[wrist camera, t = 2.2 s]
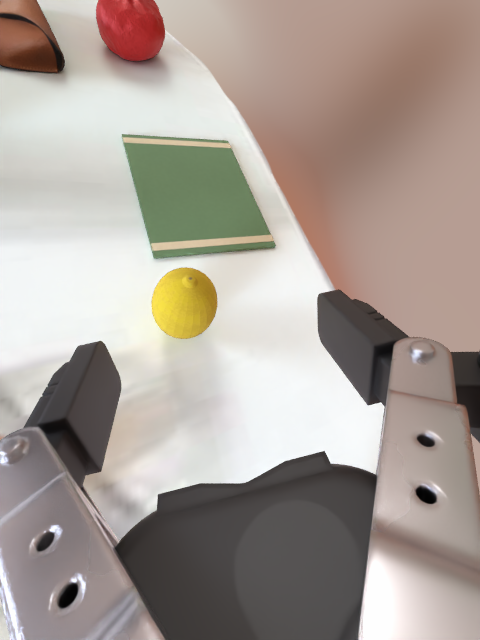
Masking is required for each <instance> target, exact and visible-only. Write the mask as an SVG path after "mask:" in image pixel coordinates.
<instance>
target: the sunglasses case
mask: <svg viewBox="0 0 480 640" xmlns="http://www.w3.org/2000/svg"><path fill="white" fill-rule="evenodd" d="M0 65H1V66H3V67H8V68H14V69H18V70H24V71H33V72H47V73H58V72H59V71H61V70H62V69H63V67H64V65H65V60H64V57H63V54H62V52H61V50H60V48H59V45H58V43H57V41H56V38H55V36H54V34H53V32H52V30H51V28H50V26H49V24H48V22H47V20H46V18H45V16H44V14H43V12H42V10H41V8H40V6H39V4H38V2H37V0H0Z"/></svg>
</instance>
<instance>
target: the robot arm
mask: <svg viewBox="0 0 480 640" xmlns="http://www.w3.org/2000/svg"><path fill="white" fill-rule="evenodd" d="M317 305H318V333H319V337H320V340H321V342H322V344H323V346H324V347H325V348H326V350H327V351H328V352H329V354H330V355H331V356H332V358H333V359H334V360H335V362H336V363H337V364H338V366H339V367H340V369H341V370H342V371H343V373H344V374H345V375H346V377H347V378H348V379H349V381H350V382H351V383H352V385H353V386H354V387H355V389H356V390H357V391H358V393H359V394H360V395H361V397H362V398H363V399H364V401H365V402H366V404H367V405H372V404H375V403H379V402H381V403H382V404H383V405H384V406H385V409H384V416H383V424H382V432H381V439H380V447H379V455H378V462H377V469H376V475H375V474H373V473H371V472H368V471H366V470H363V469H360V468H356V467H352V466H348V465H340V464H330V461H329V459H328V457H327V455H326V453H325V451H323V452H319V453H315V454H311V455H308V456H304V457H300V458H296V459H292V460H289V461H285V462H283V463H281V464H279V465H278V466H276V467H274V468H272V469H270V470H269V471H267V472H265V473H263V474H261V475H260V476H258V477H256V478H254V479H253V480H251V481H249V482H246V483H241V484H197V485H193V486H189V487H185V488H181V489H178V490H174V491H170V492H166V493H162V494H158V503H157V511H155V512H153V513H151V514H150V515H148V516H147V517H146V518H144V519H143V520H141V521H140V522H139V523H138V524H137V525H135V526H134V527H133V528H132V529H131V530H130V531H129V532H128V533H127V534H126V535H125V536H124V537H123V538H122V539H121V540H120V541H119V540H118V538H117V537H116V535H115V534H114V532H113V531H112V529H111V528H110V526H109V525H108V523H107V522H106V520H105V519H104V517H103V515H102V514H101V512H100V511H99V509H98V508H97V506H96V505H95V503H94V501H93V500H92V498H91V497H90V495H89V494H88V492H87V490H86V489H85V488H84V486H83V482H84V479H85V475H89V474H93V473H97V472H101V470H102V466H103V462H104V458H105V453H106V449H107V445H108V441H109V437H110V433H111V429H112V425H113V421H114V417H115V413H116V409H117V405H118V401H119V397H120V393H121V380H120V376H119V373H118V371H117V369H116V367H115V365H114V363H113V361H112V358H111V356H110V354H109V352H108V350H107V348H106V346H105V344H104V343H103V342H102V341H99V342H94V343H89V344H85V345H80V346H78V347H77V348H76V350H75V352H74V354H73V356H72V358H71V360H70V362H67V363H65V364H64V365H63V366H62V367H61V368H60V369H59V370H58V371H56V372H55V373H54V375H53V377H52V378H51V380H50V382H49V384H48V387H46V389H45V391H44V392H43V394H42V395H43V397H41V398H40V399H39V401H38V403H37V405H36V406H35V408H34V410H33V412H32V414H31V415H30V417H29V419H28V421H27V422H26V424H25V426H24V428H23V429H20V430H17V431H15V432H13V433H11V434H9V435H7V436H6V437H4V438H3V439H1V440H0V599H1V603H2V607H3V611H4V615H5V619H6V623H7V627H8V631H9V635H10V639H11V640H480V495H479V488H478V481H477V474H476V467H475V461H474V453H473V447H472V440H471V434H472V435H473V436H474V437H475V438H476V439H477V440H478V441H479V442H480V351H479V352H450V351H449V350H448V349H447V348H446V347H445V346H444V345H442V344H441V343H439V342H436V341H434V340H430V339H426V338H421V337H408V336H407V335H406V334H405V333H404V332H402V331H401V330H400V329H399V328H397V327H396V326H395V325H394V324H392V323H391V322H390V321H389V320H388V319H385V318H384V316H383V315H381V314H380V313H377V311H376V310H375V309H374V308H373V307H371V306H370V305H369V304H367V303H364V302H362V301H359V300H357V299H354V300H351V299H350V298H349V297H348V296H347V295H346V294H344V293H343V292H342V291H341V290H334V291H330V292H325V293H321V294H319V295H318V299H317Z"/></svg>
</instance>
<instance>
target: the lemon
mask: <svg viewBox="0 0 480 640" xmlns="http://www.w3.org/2000/svg"><path fill="white" fill-rule="evenodd" d="M216 309H217V294H216V290H215V287H214V285H213V283H212V282H211V280H210V279H209V278H208V277H207V276H206V275H205V274H204V273H202V272H200V271H198V270H196V269H192V268H178V269H175V270H172V271H170V272H169V273H167V274H166V275H165V276H164V277H163V278H162V279H161V280H160V281H159V283H158V285H157V286H156V288H155V290H154V293H153V297H152V313H153V316H154V319H155V321H156V323H157V324H158V326H159V327H160V329H161V330H163V331H164V332H165V333H166V334H168V335H170V336H172V337H175V338H180V339H187V338H192V337H195V336H197V335H199V334H201V333H202V332H204V331H205V330H206V329H207V328H208V327H209V325H210V324H211V322H212V321H213V319H214V317H215V313H216Z"/></svg>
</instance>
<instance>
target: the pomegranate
mask: <svg viewBox="0 0 480 640" xmlns="http://www.w3.org/2000/svg"><path fill="white" fill-rule="evenodd" d="M96 19H97V24H98V28H99V32H100V35H101V37H102V39H103V41H104V42H105V44H106V45H107V47H108V48H109V49H110V50H111V51H112V52H114V53H115V54H117V55H119V56H120V57H121V58H123V59H126V60H129V61H142V60H147V59H150V58H153V57H154V56H155V55H157V54H158V53H159V51H160V49H161V47H162V45H163V41H164V38H165V28H164V24H163V18H162V16H161V15H160V12H159V9H158V6H157V5H156V3H155V1H154V0H99V1H98V3H97V7H96Z"/></svg>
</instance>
